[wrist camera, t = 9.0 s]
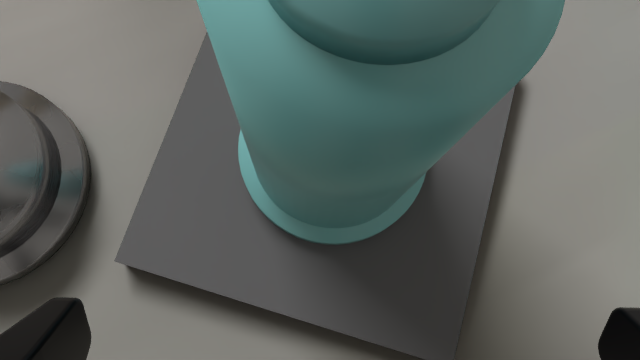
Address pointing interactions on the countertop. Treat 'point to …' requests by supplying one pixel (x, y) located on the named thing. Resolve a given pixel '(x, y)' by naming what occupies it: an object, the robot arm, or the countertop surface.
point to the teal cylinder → (362, 97)
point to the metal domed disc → (37, 179)
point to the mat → (307, 257)
